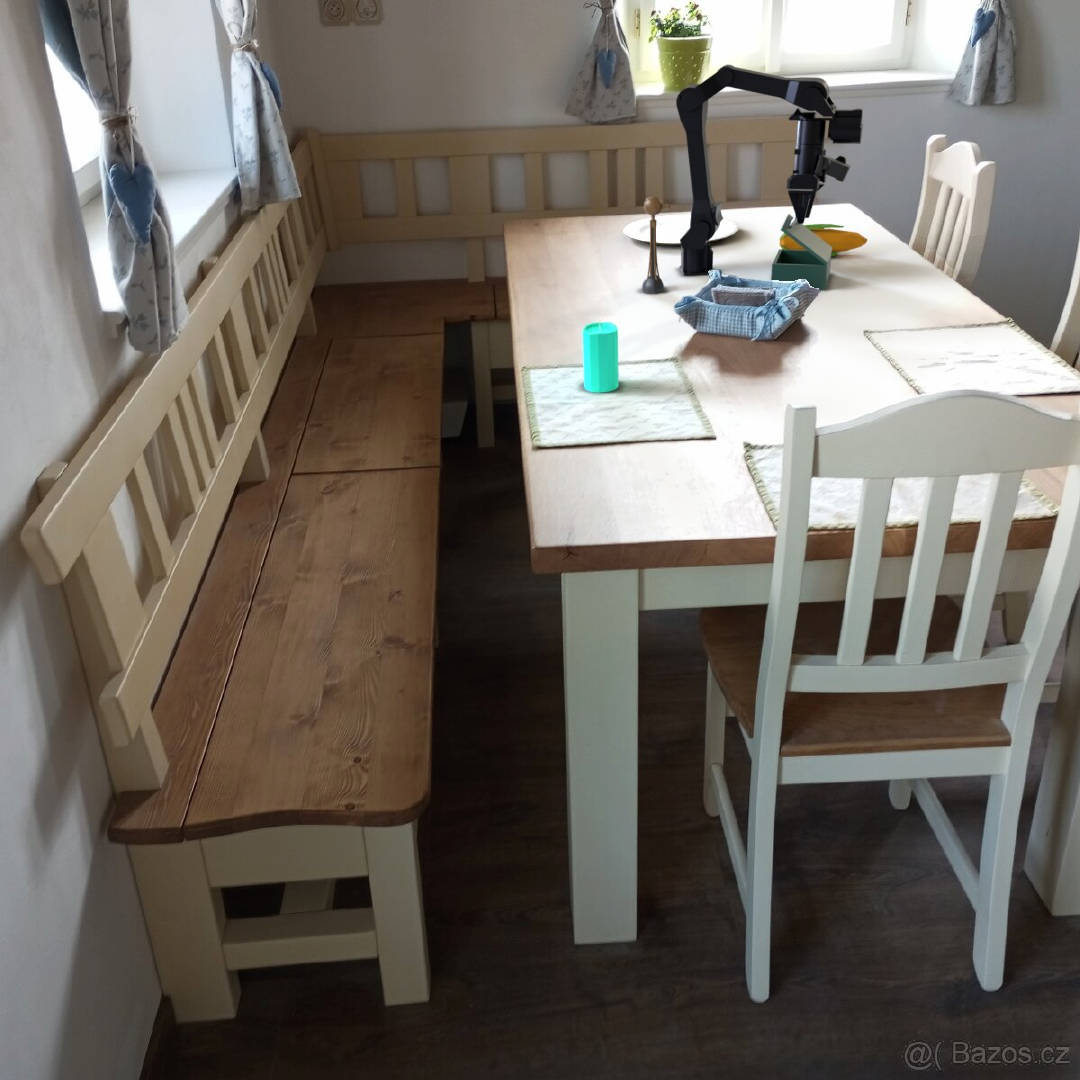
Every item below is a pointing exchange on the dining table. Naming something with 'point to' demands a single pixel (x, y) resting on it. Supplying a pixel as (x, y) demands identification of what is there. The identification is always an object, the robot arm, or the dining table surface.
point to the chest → (800, 268)
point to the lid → (807, 239)
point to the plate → (673, 229)
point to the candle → (600, 357)
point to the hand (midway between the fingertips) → (803, 220)
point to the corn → (828, 238)
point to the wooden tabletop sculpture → (653, 247)
